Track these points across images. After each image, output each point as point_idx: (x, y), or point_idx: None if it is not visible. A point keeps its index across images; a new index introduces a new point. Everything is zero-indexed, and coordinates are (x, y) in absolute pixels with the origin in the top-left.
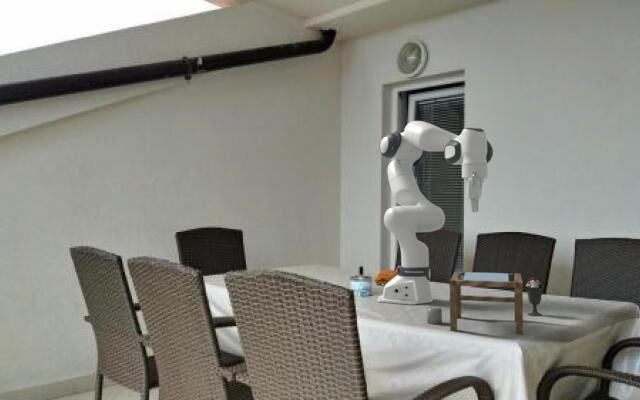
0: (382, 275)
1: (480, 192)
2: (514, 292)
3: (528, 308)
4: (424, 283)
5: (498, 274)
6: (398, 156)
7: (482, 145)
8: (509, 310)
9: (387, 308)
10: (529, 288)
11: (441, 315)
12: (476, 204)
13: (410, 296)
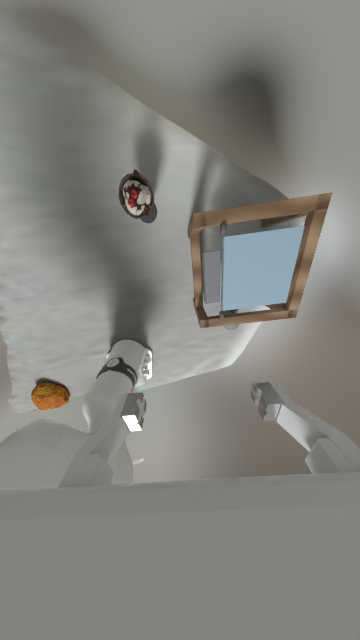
0: (59, 403)
1: (29, 619)
2: (196, 232)
3: (106, 226)
4: (129, 358)
5: (236, 255)
6: None
7: None
8: (133, 251)
9: (176, 363)
10: (152, 207)
11: (231, 313)
12: (318, 421)
13: (144, 358)
